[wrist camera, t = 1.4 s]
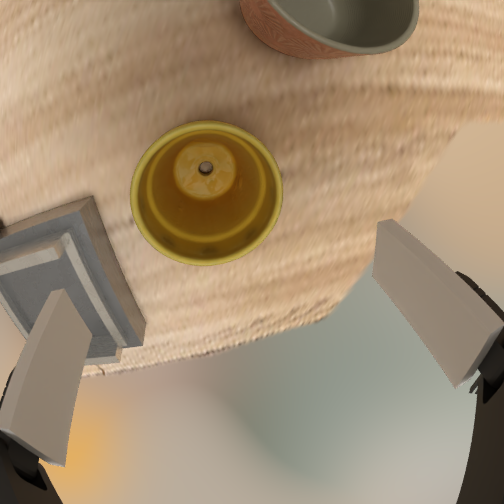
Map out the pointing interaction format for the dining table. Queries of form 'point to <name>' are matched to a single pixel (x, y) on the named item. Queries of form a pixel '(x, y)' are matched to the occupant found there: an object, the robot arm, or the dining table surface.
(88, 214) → the grey square tray
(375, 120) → the dining table surface
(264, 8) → the planter
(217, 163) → the plant pot
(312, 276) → the dining table surface
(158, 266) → the dining table surface
